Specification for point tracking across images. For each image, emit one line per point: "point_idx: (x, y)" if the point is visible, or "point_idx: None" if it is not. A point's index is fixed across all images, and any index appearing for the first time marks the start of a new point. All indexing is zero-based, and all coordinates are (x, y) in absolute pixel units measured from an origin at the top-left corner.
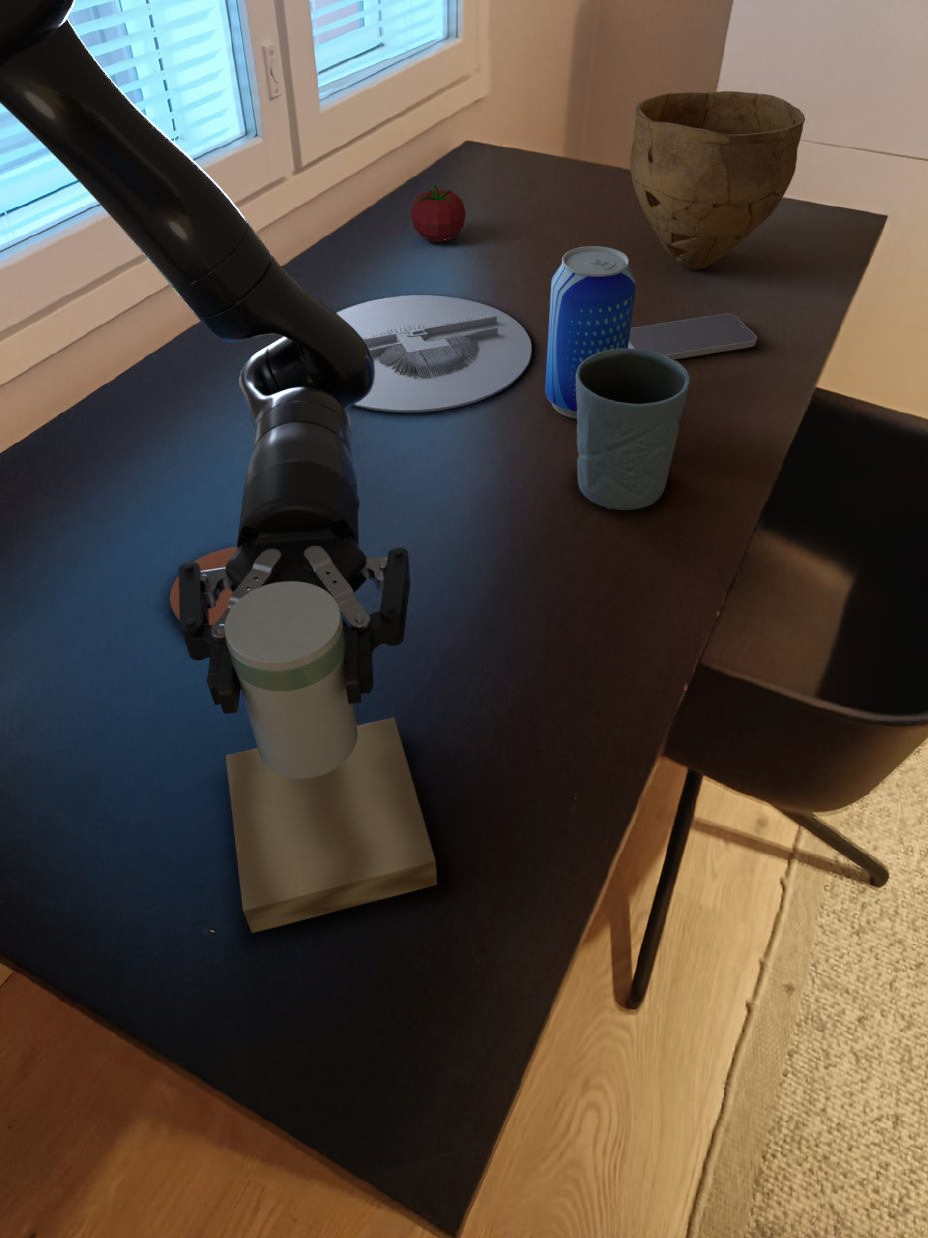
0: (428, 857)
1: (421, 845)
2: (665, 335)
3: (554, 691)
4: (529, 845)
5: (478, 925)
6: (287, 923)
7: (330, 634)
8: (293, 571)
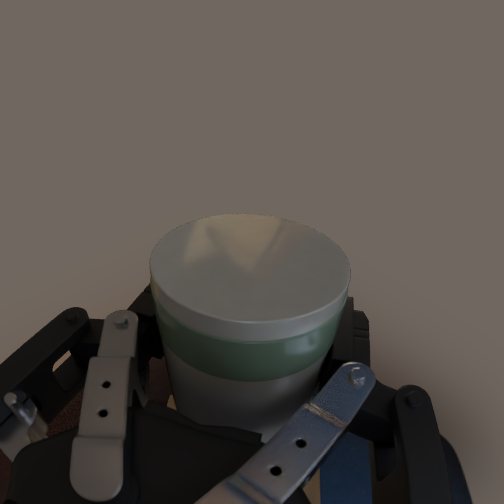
0: (173, 399)
1: (173, 408)
2: None
3: (5, 486)
4: None
5: (164, 381)
6: None
7: (192, 222)
8: (170, 491)
